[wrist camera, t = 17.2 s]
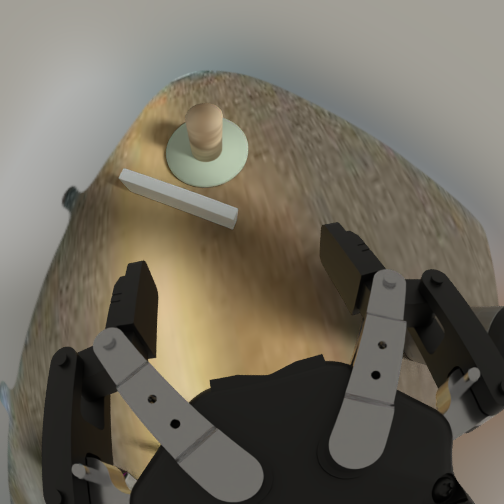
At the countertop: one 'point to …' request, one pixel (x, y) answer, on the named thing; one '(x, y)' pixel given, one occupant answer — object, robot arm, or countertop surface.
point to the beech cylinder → (205, 131)
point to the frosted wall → (180, 198)
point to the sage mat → (214, 170)
